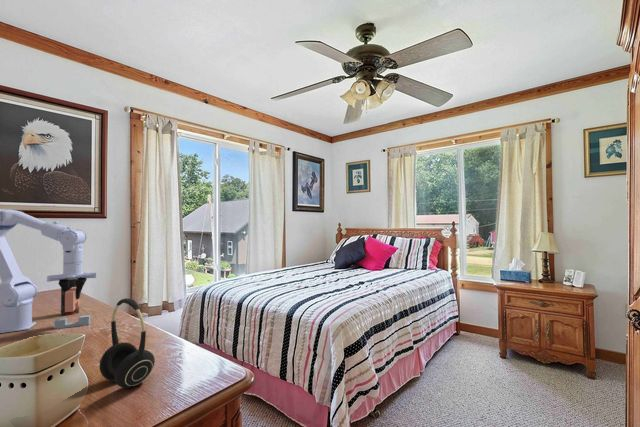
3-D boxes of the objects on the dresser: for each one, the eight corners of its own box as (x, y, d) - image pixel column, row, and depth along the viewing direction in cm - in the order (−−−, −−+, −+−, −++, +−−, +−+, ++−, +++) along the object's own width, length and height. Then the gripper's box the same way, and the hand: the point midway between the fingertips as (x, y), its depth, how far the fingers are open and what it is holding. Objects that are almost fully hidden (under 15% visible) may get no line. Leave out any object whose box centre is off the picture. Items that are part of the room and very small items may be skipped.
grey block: (54, 329, 112) (54, 320, 112) (56, 327, 114) (56, 318, 114) (88, 324, 116) (88, 316, 117) (90, 322, 119) (90, 314, 119)
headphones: (130, 367, 82) (130, 291, 83) (162, 382, 74) (162, 298, 75) (92, 382, 75) (93, 298, 75) (124, 400, 67) (124, 307, 67)
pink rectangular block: (64, 312, 110) (64, 292, 110) (72, 305, 119) (72, 287, 119) (73, 311, 111) (73, 291, 111) (79, 304, 120) (80, 286, 120)
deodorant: (63, 316, 127) (63, 279, 127) (59, 313, 130) (59, 278, 131) (80, 313, 131) (81, 277, 132) (76, 310, 135) (76, 275, 135)
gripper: (44, 265, 109) (43, 304, 109) (94, 262, 115) (94, 299, 115) (50, 262, 115) (50, 299, 115) (98, 260, 122) (98, 295, 121)
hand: (72, 299), depth 115 cm, fingers closed on pink rectangular block, 2 cm apart
